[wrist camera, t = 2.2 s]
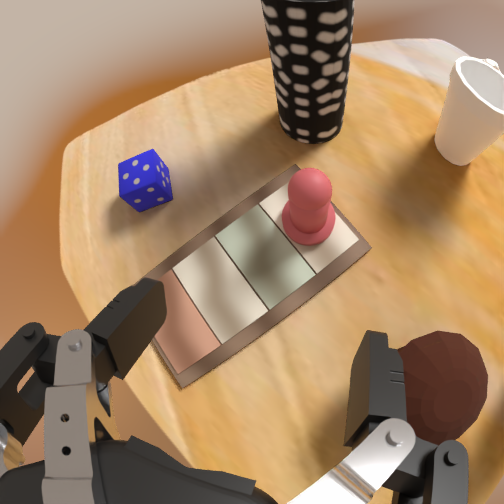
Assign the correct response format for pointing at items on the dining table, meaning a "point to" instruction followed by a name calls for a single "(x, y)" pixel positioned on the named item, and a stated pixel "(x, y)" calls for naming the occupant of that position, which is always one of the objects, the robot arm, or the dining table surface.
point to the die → (144, 181)
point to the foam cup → (471, 111)
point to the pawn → (309, 208)
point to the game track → (243, 280)
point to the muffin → (443, 385)
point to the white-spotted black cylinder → (310, 64)
